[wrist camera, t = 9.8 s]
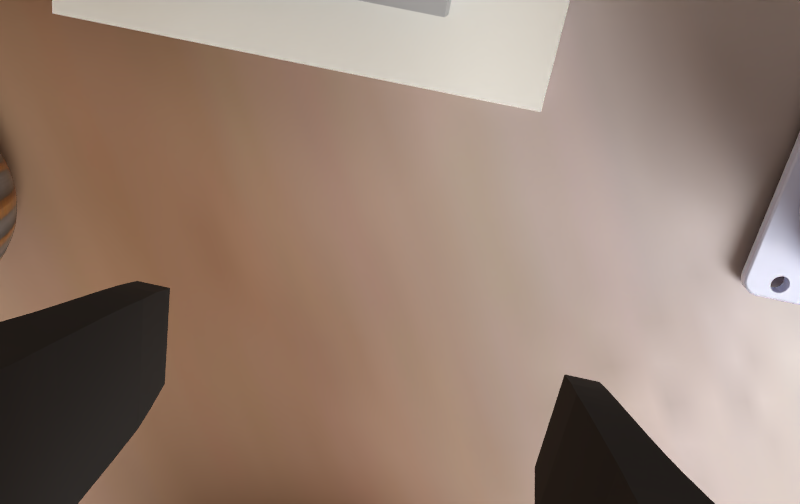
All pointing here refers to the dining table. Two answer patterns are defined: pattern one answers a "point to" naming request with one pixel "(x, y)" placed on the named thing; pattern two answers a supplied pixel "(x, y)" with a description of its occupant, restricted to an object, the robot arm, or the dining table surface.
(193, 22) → the hub panel
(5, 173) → the vase
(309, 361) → the dining table surface
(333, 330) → the dining table surface
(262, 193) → the dining table surface
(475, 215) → the dining table surface
